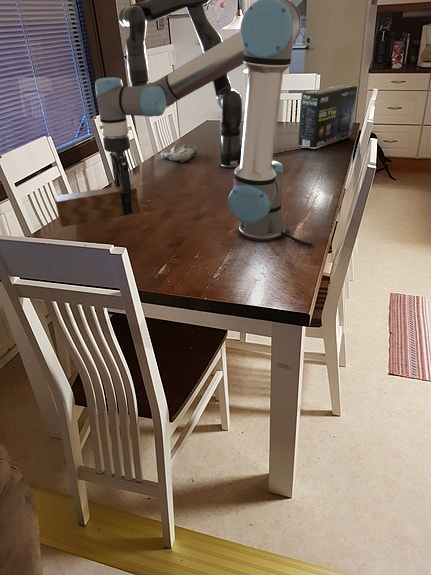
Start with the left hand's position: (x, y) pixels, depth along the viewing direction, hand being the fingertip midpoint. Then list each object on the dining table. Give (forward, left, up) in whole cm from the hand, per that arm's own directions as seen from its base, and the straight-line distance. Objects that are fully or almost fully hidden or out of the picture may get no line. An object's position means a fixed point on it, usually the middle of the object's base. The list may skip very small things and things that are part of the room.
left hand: (142, 113), depth 181 cm
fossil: (-33, -23, -29) cm, 50 cm away
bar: (+43, +36, -21) cm, 60 cm away
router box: (-104, +14, -29) cm, 108 cm away
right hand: (+36, +39, -20) cm, 56 cm away
